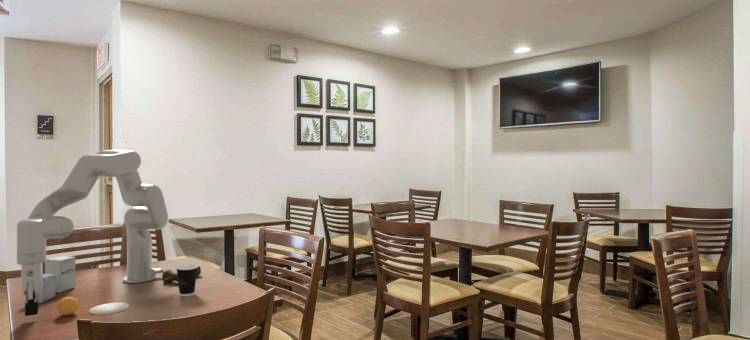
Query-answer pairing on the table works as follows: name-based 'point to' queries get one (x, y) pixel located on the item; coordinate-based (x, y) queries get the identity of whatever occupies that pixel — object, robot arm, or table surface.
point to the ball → (67, 306)
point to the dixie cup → (186, 279)
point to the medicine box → (47, 288)
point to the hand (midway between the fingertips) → (31, 314)
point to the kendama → (174, 275)
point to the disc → (109, 308)
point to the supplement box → (62, 272)
